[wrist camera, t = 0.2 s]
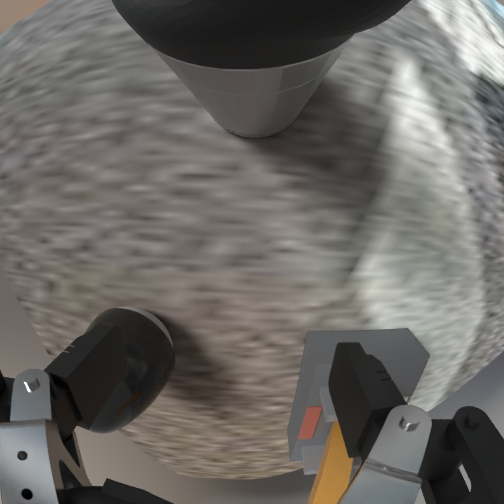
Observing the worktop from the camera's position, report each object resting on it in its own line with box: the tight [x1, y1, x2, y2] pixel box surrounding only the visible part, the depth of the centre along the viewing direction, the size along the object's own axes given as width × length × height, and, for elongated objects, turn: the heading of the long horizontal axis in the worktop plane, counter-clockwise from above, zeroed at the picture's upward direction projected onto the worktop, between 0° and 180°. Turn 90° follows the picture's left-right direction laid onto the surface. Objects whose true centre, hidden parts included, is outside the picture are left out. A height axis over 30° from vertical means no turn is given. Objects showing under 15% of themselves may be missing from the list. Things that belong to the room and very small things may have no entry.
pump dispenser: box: [84, 307, 175, 434], centre depth 23 cm, size 10×10×15 cm
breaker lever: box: [307, 421, 353, 504], centre depth 20 cm, size 6×2×13 cm, turn 177°
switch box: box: [287, 328, 430, 475], centre depth 27 cm, size 18×13×10 cm
